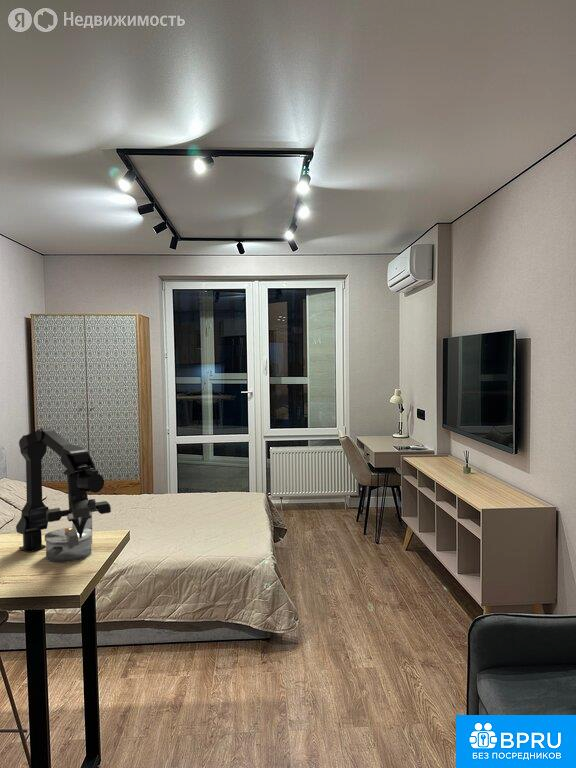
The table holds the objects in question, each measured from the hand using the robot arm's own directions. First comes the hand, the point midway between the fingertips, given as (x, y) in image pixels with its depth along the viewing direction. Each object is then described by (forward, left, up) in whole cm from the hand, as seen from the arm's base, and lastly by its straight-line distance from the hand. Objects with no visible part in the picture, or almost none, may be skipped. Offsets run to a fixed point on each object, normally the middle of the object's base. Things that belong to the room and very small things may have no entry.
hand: (80, 537), depth 181 cm
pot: (-10, +1, -9) cm, 13 cm away
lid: (-8, +2, -2) cm, 9 cm away
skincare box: (-18, +13, -9) cm, 24 cm away
